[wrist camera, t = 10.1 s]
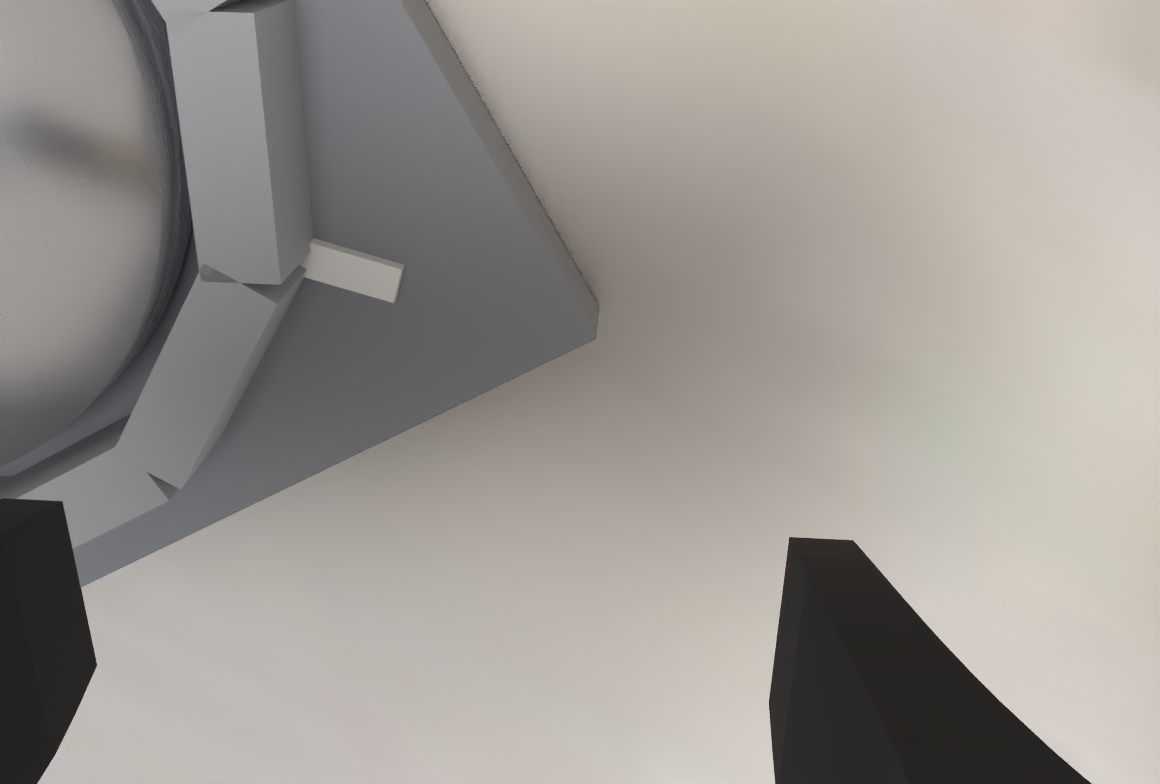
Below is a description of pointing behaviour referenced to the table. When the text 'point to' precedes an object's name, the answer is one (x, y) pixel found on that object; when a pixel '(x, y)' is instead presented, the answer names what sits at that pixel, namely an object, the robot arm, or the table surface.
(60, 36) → the dial
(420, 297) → the dial plate
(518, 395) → the table surface
